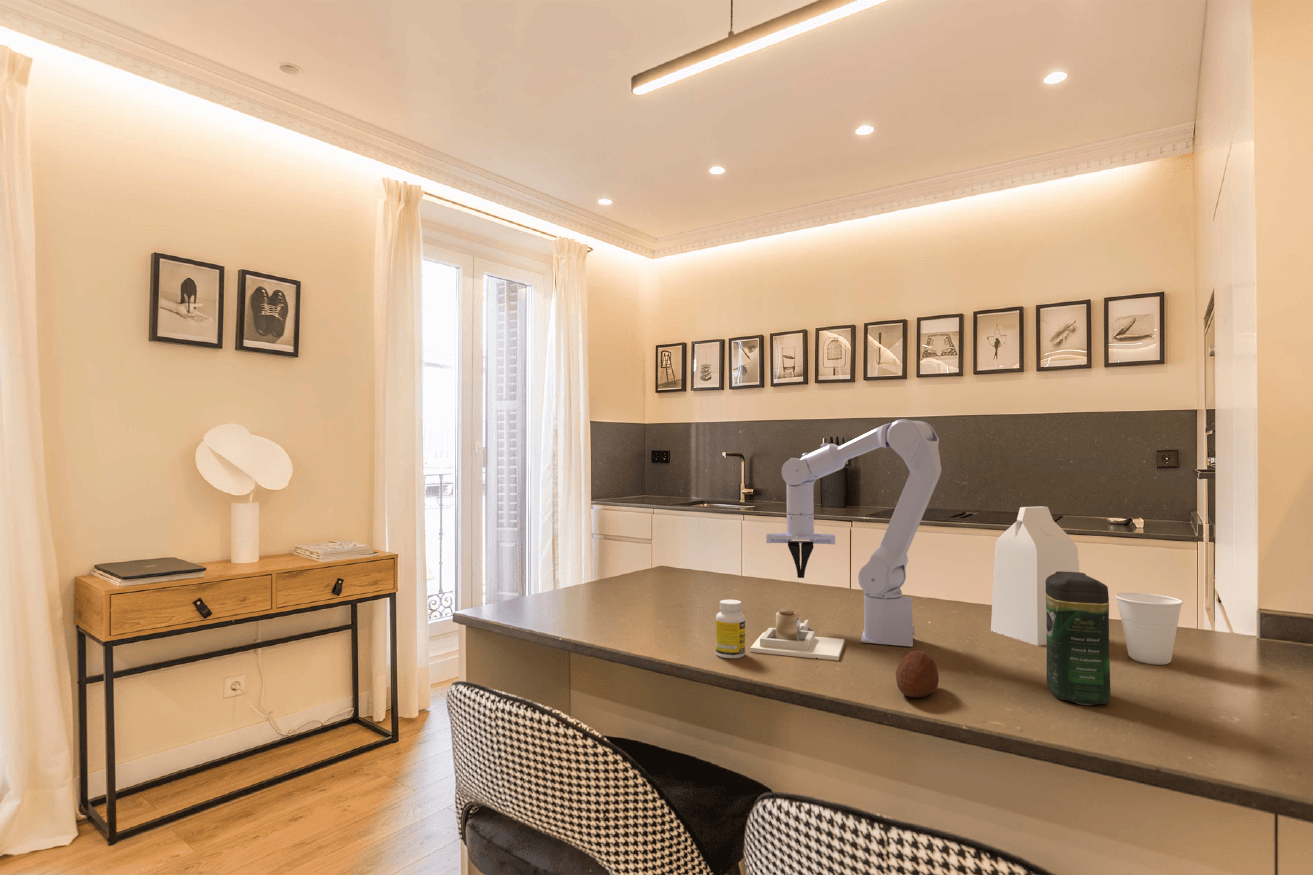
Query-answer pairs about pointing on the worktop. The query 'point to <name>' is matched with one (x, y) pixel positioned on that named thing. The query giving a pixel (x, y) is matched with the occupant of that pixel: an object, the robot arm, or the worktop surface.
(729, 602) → the supplement bottle
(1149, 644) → the cup
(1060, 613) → the coffee jar
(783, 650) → the dock
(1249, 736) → the worktop surface
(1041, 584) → the milk
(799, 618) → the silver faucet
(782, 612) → the beige lidded canister
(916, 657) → the potato
